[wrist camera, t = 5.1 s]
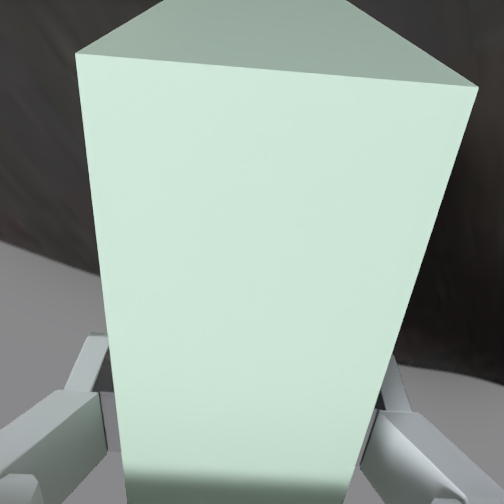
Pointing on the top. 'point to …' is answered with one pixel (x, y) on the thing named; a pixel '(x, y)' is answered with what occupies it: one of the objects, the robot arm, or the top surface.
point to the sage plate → (259, 235)
